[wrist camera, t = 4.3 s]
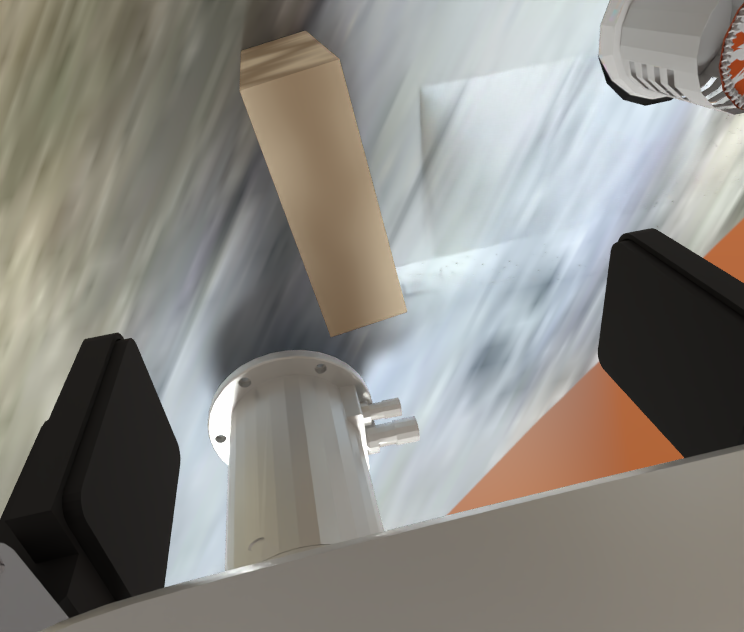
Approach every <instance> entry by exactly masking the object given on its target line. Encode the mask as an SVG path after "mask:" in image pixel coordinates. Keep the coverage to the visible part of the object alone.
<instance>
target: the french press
mask: <svg viewBox="0 0 744 632" xmlns="http://www.w3.org/2000/svg"><path fill="white" fill-rule="evenodd" d="M598 57H599V61H600V64H601V67H602V70H603V73H604V76H605V80H606V83H607V84H608V85H609V86H610V87H611V88H612V89H613V90H614V91H615V92H616V93H617V94H618V95H619V96H620V97H621V98H622V99H623V100H626V101H630V102H634V103H637V104H641V105H645V106H646V105H651V104H656V103H660V102H665V101H670V100H672V99H673V98H675V99H679V100H682V101H686V102H689V103H693V104H696V105H700V106H704V107H707V108H711V109H715V110H718V111H722V112H726V113H730V114H734V115H735V114H740V113H744V0H610V2H609V5H608V7H607V10H606V12H605V15H604V17H603V20H602V23H601V25H600V40H599V56H598ZM711 77H716V78H717V79H716V80H715V81H714V83H713V84H712V85H711V86H710V87H709V88H708V89H706V90H704V91H703V92H701V89H700V88H702V87H703V86H705V84H706V83H707V82H708V81H709V80H710V78H711ZM721 84H722V89H723V91H722V92H721V93H719V94H717V95H716V96H714V97H712V98H711V99H709V100H707V99H706V98H705V97H706V96H707V95H709V94H710V93H712V92H713V91H715V90H717V89H718V88H719V87H720V85H721ZM681 96H686V97H685V98H682V97H681ZM725 96H727V97H728V98H729V99H730V100H729V101H727V102H725V103H724V104H717V105H712V104H711V103H715V102H717V101H719V100H721V99H722V98H724V97H725ZM677 97H679V98H677ZM689 100H690V101H689ZM732 105H735V106H736V107H737V108H732V109H724V110H719V109H717V108H720V107H729V106H732Z"/></svg>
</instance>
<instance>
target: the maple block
mask: <svg viewBox="0 0 744 632" xmlns="http://www.w3.org/2000/svg"><path fill="white" fill-rule="evenodd" d="M240 93H241V96H242V99H243V101H244V104H245V107H246V109H247V112H248V115H249V117H250V120H251V123H252V126H253V128H254V131H255V134H256V136H257V139H258V142H259V144H260V147H261V150H262V153H263V155H264V158H265V161H266V163H267V166H268V169H269V171H270V174H271V177H272V180H273V182H274V185H275V188H276V190H277V193H278V196H279V198H280V201H281V204H282V207H283V209H284V212H285V215H286V217H287V220H288V223H289V225H290V228H291V231H292V234H293V236H294V239H295V242H296V244H297V247H298V250H299V252H300V255H301V258H302V261H303V263H304V266H305V269H306V271H307V274H308V277H309V279H310V282H311V285H312V288H313V290H314V293H315V296H316V298H317V301H318V304H319V306H320V309H321V312H322V315H323V317H324V320H325V323H326V325H327V328H328V331H329V333H330V336H331V337H333V336H336V335H339V334H342V333H345V332H348V331H351V330H354V329H357V328H361V327H364V326H367V325H370V324H373V323H376V322H379V321H382V320H385V319H388V318H391V317H394V316H397V315H400V314H403V313H406V312H407V309H406V306H405V302H404V298H403V294H402V291H401V287H400V283H399V280H398V276H397V272H396V268H395V265H394V261H393V257H392V253H391V250H390V246H389V242H388V238H387V235H386V231H385V227H384V223H383V220H382V216H381V212H380V209H379V205H378V201H377V197H376V194H375V190H374V186H373V182H372V179H371V175H370V171H369V167H368V164H367V160H366V156H365V152H364V149H363V145H362V141H361V138H360V134H359V130H358V126H357V123H356V119H355V115H354V111H353V108H352V104H351V100H350V96H349V93H348V89H347V85H346V82H345V78H344V74H343V70H342V67H341V63H340V59H339V58H338V57H336V56H335V55H334V54H333V53H332V52H330V51H329V50H328V49H327V48H326V47H325V46H323V45H322V44H321V43H320V42H319V41H317V40H316V39H315V38H314V37H313V36H311V35H310V34H309V33H308V32H307V31H302V32H299V33H296V34H293V35H290V36H287V37H283V38H280V39H277V40H274V41H271V42H267V43H264V44H261V45H258V46H255V47H252V48H248V49H245V50H242V51H241V66H240Z"/></svg>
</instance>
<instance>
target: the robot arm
mask: <svg viewBox="0 0 744 632" xmlns="http://www.w3.org/2000/svg"><path fill="white" fill-rule="evenodd" d="M598 358H599V362H600V364H601V366H602V368H603V369H604V370H605V371H606V372H607V373H608V375H609V376H610V377H611V378H612V379H613V380H614V381H615V382H616V383H617V384H618V386H619V387H620V388H621V389H622V390H623V391H624V392H625V393H626V394H627V395H628V396H629V397H630V398H631V400H632V401H633V402H634V403H635V404H636V405H637V406H638V407H639V408H640V410H641V411H642V412H643V413H644V414H645V415H646V416H647V417H648V418H649V419H650V421H651V422H652V423H653V424H654V425H655V426H656V427H657V428H658V429H659V430H660V431H661V432H662V434H663V435H664V436H665V437H666V438H667V439H668V440H669V441H670V442H671V443H672V445H673V446H674V447H675V448H676V449H677V450H678V451H679V452H680V453H681V454H682V456H683V457H684V459H679V460H675V461H671V462H667V463H663V464H659V465H654V466H650V467H646V468H642V469H637V470H634V471H629V472H625V473H621V474H616V475H612V476H608V477H604V478H599V479H595V480H591V481H587V482H583V483H579V484H575V485H571V486H566V487H562V488H558V489H554V490H550V491H546V492H542V493H538V494H534V495H529V496H525V497H521V498H517V499H513V500H509V501H505V502H501V503H497V504H493V505H488V506H484V507H480V508H477V509H472V510H468V511H464V512H460V513H456V514H451V515H447V516H443V517H439V518H435V519H431V520H427V521H423V522H419V523H415V524H411V525H407V526H403V527H399V528H395V529H391V530H387V531H384V528H383V524H382V520H381V516H380V512H379V508H378V504H377V500H376V496H375V493H374V489H373V485H372V481H371V477H370V473H369V461H368V455H371V454H375V453H380V447H383V446H388V445H393V444H397V445H401V444H406V443H411V442H416V441H419V440H420V435H419V429H418V424H417V421H416V418H415V416H413V417H408V418H403V419H398V420H393V421H392V422H389V423H384V424H379V425H375V423H374V420H377V419H382V418H385V419H387V418H392V417H397V416H401V415H402V410H401V404H400V401H399V398H394V399H388V400H383V401H382V402H378V403H372V400H371V396H370V393H369V390H368V388H367V386H366V383H365V382H364V380H363V379H362V378H361V376H360V375H359V374H358V372H356V371H355V370H354V369H353V368H352V367H350V366H349V365H348V364H347V363H345V362H343V361H341V360H339V359H337V358H336V357H333V356H330V355H327V354H324V353H321V352H315V351H308V350H286V351H280V352H274V353H270V354H267V355H264V356H261V357H258V358H255V359H253V360H251V361H249V362H248V363H246V364H244V365H242V366H240V367H239V368H238V369H237V370H235V371H234V372H233V373H231V374H230V375H229V376H228V377H227V378H226V379H225V380H224V382H223V383H222V384H221V385H220V386H219V388H218V389H217V391H216V393H215V395H214V397H213V399H212V402H211V406H210V409H209V418H208V431H209V438H210V440H211V443H212V445H213V448H214V450H215V451H216V452H217V454H218V455H219V457H220V458H221V459H222V460H223V461H224V462H225V463H226V464H228V485H227V516H226V548H225V571H224V572H220V573H217V574H213V575H209V576H205V577H201V578H198V579H194V580H190V581H187V582H183V583H179V584H176V585H172V586H168V587H165V588H164V584H165V577H166V569H167V561H168V554H169V546H170V538H171V530H172V523H173V515H174V507H175V500H176V492H177V484H178V476H179V469H180V451H179V446H178V443H177V441H176V438H175V436H174V433H173V431H172V429H171V426H170V424H169V421H168V419H167V417H166V414H165V412H164V409H163V407H162V405H161V402H160V400H159V397H158V395H157V393H156V390H155V388H154V385H153V383H152V381H151V378H150V376H149V373H148V371H147V368H146V366H145V364H144V361H143V359H142V356H141V354H140V352H139V349H138V347H137V345H136V343H135V341H134V340H133V339H132V338H129V339H124V338H123V337H122V335H121V334H119V333H113V334H108V335H103V336H98V337H93V338H88V339H85V340H84V341H83V342H82V345H81V347H80V349H79V352H78V354H77V356H76V358H75V361H74V363H73V365H72V368H71V370H70V372H69V374H68V377H67V379H66V381H65V383H64V386H63V388H62V390H61V393H60V395H59V397H58V399H57V402H56V404H55V406H54V409H53V411H52V413H51V415H50V418H49V420H47V421H46V422H45V423H44V424H43V426H42V427H41V429H40V431H39V434H38V436H37V438H36V440H35V443H34V445H33V447H32V449H31V451H30V454H29V456H28V458H27V460H26V463H25V465H24V467H23V469H22V472H21V474H20V476H19V478H18V481H17V483H16V485H15V487H14V489H13V492H12V494H11V496H10V498H9V501H8V503H7V505H6V507H5V510H4V512H3V514H2V516H1V519H0V632H744V283H742V282H741V281H739V280H738V279H736V278H734V277H732V276H731V275H730V274H728V273H726V272H725V271H723V270H721V269H720V268H718V267H716V266H715V265H713V264H712V263H710V262H708V261H707V260H705V259H704V258H702V257H700V256H699V255H697V254H695V253H694V252H692V251H691V250H689V249H687V248H686V247H684V246H682V245H681V244H679V243H678V242H676V241H674V240H673V239H671V238H669V237H668V236H666V235H665V234H663V233H661V232H660V231H658V230H656V229H653V228H651V229H645V230H640V231H635V232H630V233H625V234H623V235H622V236H621V237H620V238H619V240H618V242H616V243H615V244H613V246H612V249H611V254H610V261H609V269H608V277H607V285H606V292H605V300H604V308H603V315H602V323H601V331H600V339H599V346H598Z"/></svg>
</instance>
